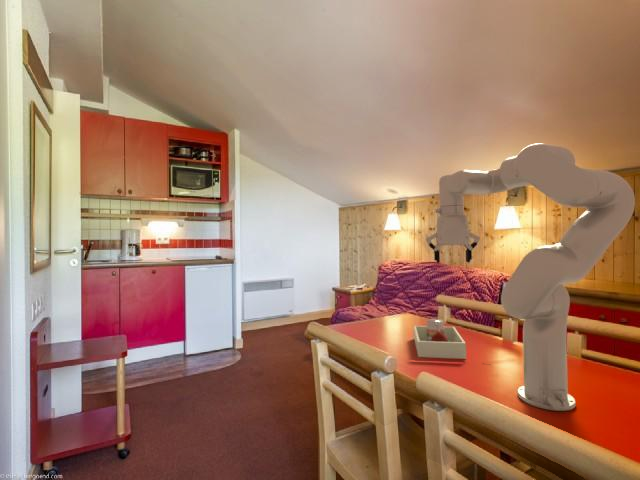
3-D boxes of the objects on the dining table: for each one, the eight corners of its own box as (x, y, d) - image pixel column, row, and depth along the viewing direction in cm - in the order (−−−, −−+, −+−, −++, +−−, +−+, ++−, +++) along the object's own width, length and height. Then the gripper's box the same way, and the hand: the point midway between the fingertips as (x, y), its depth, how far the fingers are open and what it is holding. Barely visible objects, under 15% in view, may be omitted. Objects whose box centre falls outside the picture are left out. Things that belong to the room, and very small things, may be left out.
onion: (449, 355, 123) (448, 332, 123) (432, 354, 124) (431, 332, 124) (446, 349, 128) (446, 328, 128) (430, 349, 129) (430, 328, 129)
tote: (466, 360, 119) (465, 343, 119) (418, 358, 122) (417, 341, 122) (454, 341, 140) (454, 326, 140) (414, 340, 143) (413, 325, 143)
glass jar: (445, 345, 133) (444, 322, 133) (428, 345, 134) (427, 322, 134) (442, 340, 139) (442, 318, 139) (426, 340, 141) (425, 318, 141)
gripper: (426, 212, 114) (427, 263, 114) (481, 210, 111) (483, 262, 111) (424, 213, 122) (425, 261, 122) (476, 211, 118) (477, 261, 118)
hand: (452, 262), depth 116 cm, fingers open, 9 cm apart
